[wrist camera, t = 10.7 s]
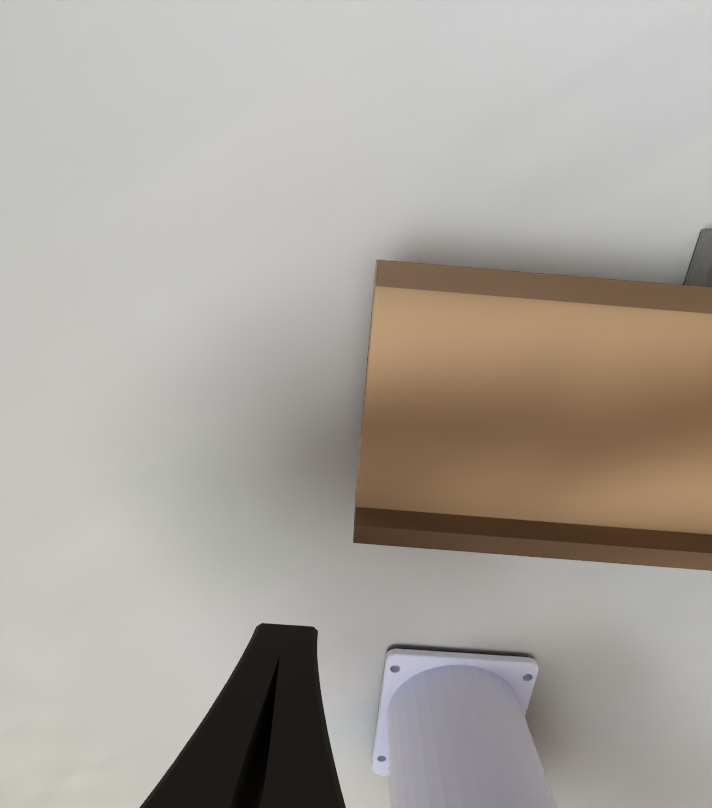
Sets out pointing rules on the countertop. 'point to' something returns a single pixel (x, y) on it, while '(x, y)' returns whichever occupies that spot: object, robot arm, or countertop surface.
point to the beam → (537, 416)
